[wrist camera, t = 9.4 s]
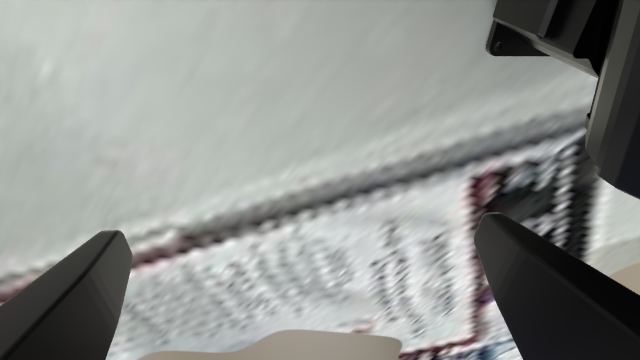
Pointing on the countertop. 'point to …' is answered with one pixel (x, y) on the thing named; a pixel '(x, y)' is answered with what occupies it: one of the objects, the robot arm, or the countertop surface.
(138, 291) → the countertop surface
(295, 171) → the countertop surface
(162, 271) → the countertop surface
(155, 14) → the countertop surface
